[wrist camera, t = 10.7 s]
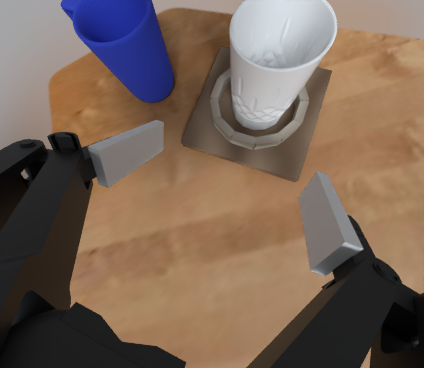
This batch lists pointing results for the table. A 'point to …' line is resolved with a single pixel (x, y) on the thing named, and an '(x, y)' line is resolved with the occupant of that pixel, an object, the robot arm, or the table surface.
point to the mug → (125, 43)
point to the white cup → (275, 55)
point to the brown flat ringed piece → (255, 139)
